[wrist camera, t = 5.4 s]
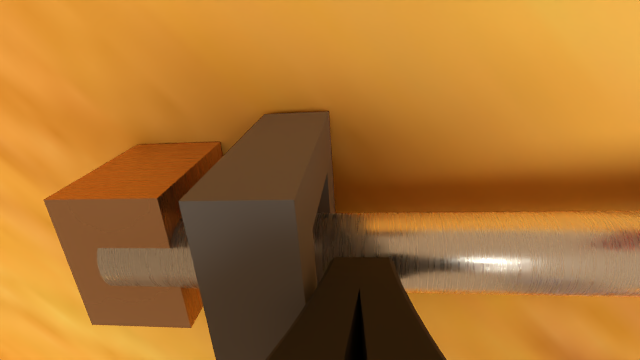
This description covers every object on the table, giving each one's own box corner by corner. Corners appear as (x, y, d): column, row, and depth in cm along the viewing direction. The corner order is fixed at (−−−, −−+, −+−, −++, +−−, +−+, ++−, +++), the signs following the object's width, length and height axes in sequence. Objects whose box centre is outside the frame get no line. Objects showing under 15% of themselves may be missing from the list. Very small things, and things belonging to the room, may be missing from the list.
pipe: (888, 119, 11) (1224, 191, 6) (824, 245, 12) (1060, 367, 8) (137, 144, 14) (34, 205, 9) (163, 242, 15) (84, 332, 11)
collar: (328, 111, 12) (294, 199, 6) (339, 274, 14) (320, 440, 9) (264, 114, 12) (178, 201, 7) (285, 273, 14) (233, 434, 9)
